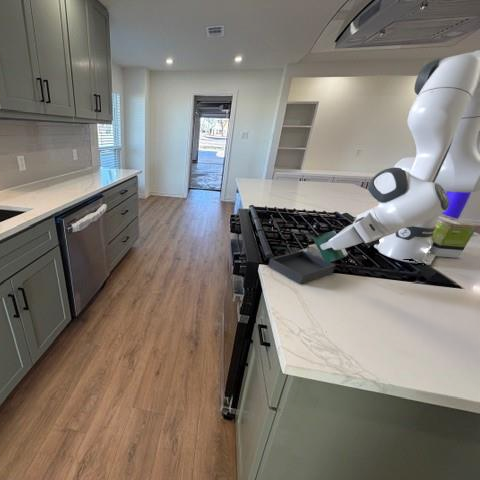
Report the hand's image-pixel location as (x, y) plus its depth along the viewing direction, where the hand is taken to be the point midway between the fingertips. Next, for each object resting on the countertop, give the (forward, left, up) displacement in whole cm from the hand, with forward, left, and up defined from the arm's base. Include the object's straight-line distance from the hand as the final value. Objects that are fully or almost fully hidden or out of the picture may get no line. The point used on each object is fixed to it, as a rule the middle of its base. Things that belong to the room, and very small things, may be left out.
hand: (325, 244), depth 85 cm
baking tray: (+3, -4, -11) cm, 12 cm away
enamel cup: (-1, +4, -4) cm, 6 cm away
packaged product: (-17, -8, -11) cm, 22 cm away
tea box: (-67, +9, -11) cm, 69 cm away
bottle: (-102, +1, -11) cm, 103 cm away
